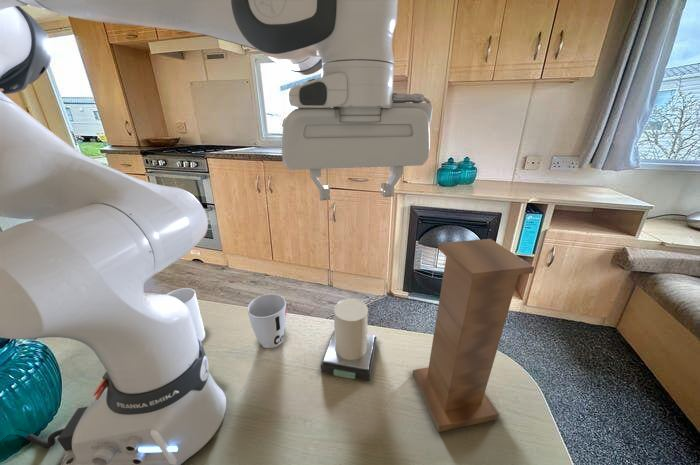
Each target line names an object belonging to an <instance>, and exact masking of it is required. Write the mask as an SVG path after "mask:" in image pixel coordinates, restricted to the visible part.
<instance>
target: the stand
mask: <svg viewBox="0 0 700 465" xmlns="http://www.w3.org/2000/svg"><path fill="white" fill-rule="evenodd" d="M437 249H438V250H439V251H440V253H442V254H443V255H444V256H445V262H444V269H443V275H442V281H441V287H440V294H439V299H438V306H437V311H436V318H435V326H434V330H433V337H432V345H431V349H430V356H429V362H428V367H422V368H417V369H413V370H412V377H413V380H414V382H415V384H416V386H417V388H418V390H419V393H420V395H421V397H422V400H423V401H424V403H425V406H426V409H427V411H428V412H429V414H430V417H431V419H432V421H433V423H434V426H435V428H436V430H437V433H440V432H444V431H445V432H446V431H450V430H454V429H458V428H464V427H468V426H473V425H477V424H482V423H487V422H492V421H496V420H498V419H499V415H500V413H499V411H498V410H497V409H496V407H495V405H493V403H492V402H491V400H490V398H489V397H488V396H487V394H486V389H487V386H488V383H489V379H490V377H491V372H492V369H493V365H494V361H495V358H496V356H497V352H498V350H499V349H498V348H499V345H500V342H501V337H502V334H503V331H504V327H505V324H506V320H507V317H508V314H509V310H510V306H511V304H512V299H513V296H514V293H515V289H516V287H517V282H518V279H519V276H520V275H528V274H533V272H534V269H535V266H534V265H532V264H531V263H529V262H528V261H526V260H524V259H523V258H521V257H520V256H518V255H517V254H515V253H513V252H512V251H510V250H509V249H507V248H505V247H504V246H502V245H501V244H499V243H498V242H496V241H495V240H493V239H492V238H484V239H483V238H482V239H472V240H471V239H470V240H461V241H448V242H438V246H437Z"/></svg>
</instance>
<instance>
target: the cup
mask: <svg viewBox="0 0 700 465" xmlns="http://www.w3.org/2000/svg"><path fill="white" fill-rule="evenodd" d="M246 310H247V314H248V319H249V322H250V325H251V328H252V330H253V333H254V336H255V337H256V339H257V340H258V342H259V344H260V345H261V346H262V347H263V348H265V349H274V348H276V347H278V346H279V345H281V344H282V342H284V336H285V333H286V328H287V301H286V298H284V296H282V295H280V294H278V293H277V294H276V293H266V294H261V295H259V296H257V297H254V298H253V299H252V300H251V301H250V302H249V303H248V304H247V308H246Z"/></svg>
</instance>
